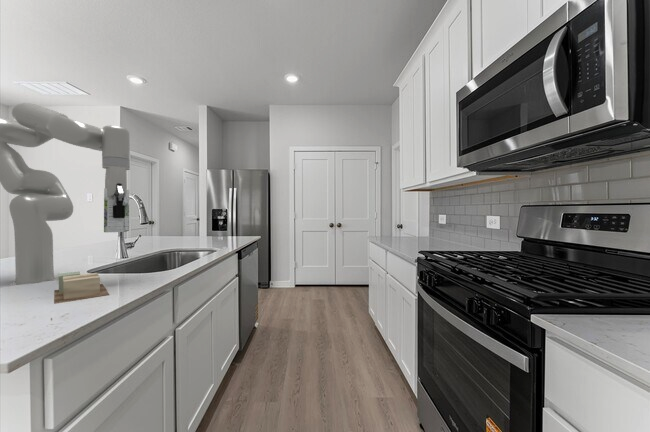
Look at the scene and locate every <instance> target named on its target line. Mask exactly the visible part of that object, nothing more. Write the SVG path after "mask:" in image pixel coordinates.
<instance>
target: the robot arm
mask: <svg viewBox="0 0 650 432" xmlns="http://www.w3.org/2000/svg"><path fill="white" fill-rule="evenodd" d="M11 115H12V117H13V119H14V120H13V119H9V118H6V117H2V116H1V117H0V184H1V186H2V188H3V189H4V190H5V191H6V192H7V193H9V194H12V195H16V196H15V197H14V198H12V199H11V201H10V203H9V206H8V207H9V213H10V216H11V219H12V224H13V230H14V231H13V232H14V234H13V235H14V256H15V257H14V259H15V260H14V261H15V262H14V263H15V281H14V282H12V283H10V284H9V285H8V287H11V286H21V285H31V284H39V283H40V284H41V283H45V282H53V281H58V277H55V275H54V274H55V273H54V272H55V271H54V237H53V230H52V228H51V226H50V225H49V224H48V223H47V221H48V222H53V221H64V220H67V219H70V217H71V216H72V215H73V213H74V205H73V202H72V200H71V197H70V196H69V194H68V193H67V191H66V189H65V187H64V186H63V183H62V182H61V181H60V179H59V178H58V177H57V176H56V175H55V174H53V173H52V172H49V171H46V170H40V169H34V168H31V167H29V166H28V164H27V163H26V161H25V160H24V158H23V156H22V155H21V154H20V153H19V152H18V151H17V150H16V149H14V148H13V147H11V146H10V145H14V146H20V147H24V148H37V147H39V146H41V145H44V144H45V143H48V142H49V141H51V140H53V139H55V140H57V141H58V140H59V141H61V142H63V143H66V144H70V145H73V146H76V147H82V148H86V149H90V150H94V151H99V152H101V157H102V158H101V159H102V160H101V162H102V163H101V167H102V169H105V176H104V189H105V188H107V197H108V198H111V196H113V201H114V206H113V218H125V206H124V205H125V203H124V198H125V197H126V192H127V190H128V189H127V182H128V181H127V171H129V170H131V167H130V164H131V163H130V162H131V161H130V155H131V153H130V131H129V130H128V129H127V128H125V127H123V126H119V125H109V124H108V125H105V126H103V127H102V128H101V127H98V126H94V125H91V124H88V123H84V122H81V121H78V120H74V119H71V118H69V117H68V116H67V115H66V114H64V113H61V112H58V111H55V110H53V109H49V108H47V107H43V106H41V105H37V104H34V103H30V102H22V103H18V104H16V105H15V106H13V107H12V110H11ZM116 188H117V190H116ZM123 193H124V194H123Z"/></svg>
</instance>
